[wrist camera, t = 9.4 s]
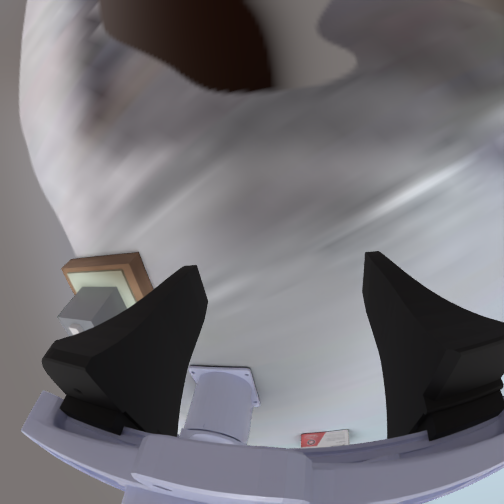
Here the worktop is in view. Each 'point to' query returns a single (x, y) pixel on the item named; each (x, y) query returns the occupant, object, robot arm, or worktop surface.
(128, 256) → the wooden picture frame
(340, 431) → the ink cartridge box
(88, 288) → the grey box
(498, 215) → the worktop surface
